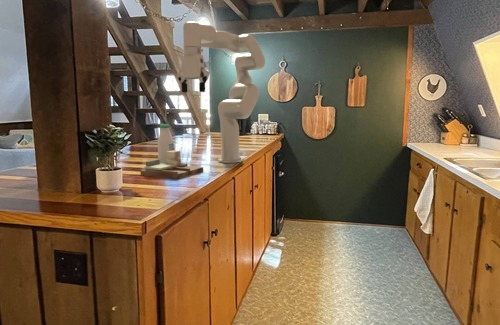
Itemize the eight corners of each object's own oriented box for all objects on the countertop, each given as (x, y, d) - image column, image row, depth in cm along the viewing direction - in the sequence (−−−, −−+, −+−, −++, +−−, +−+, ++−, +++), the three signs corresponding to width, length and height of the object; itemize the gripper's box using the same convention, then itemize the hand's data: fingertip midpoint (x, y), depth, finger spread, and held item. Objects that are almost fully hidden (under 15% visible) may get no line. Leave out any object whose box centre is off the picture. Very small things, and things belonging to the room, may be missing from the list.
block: (173, 165, 165) (172, 150, 164) (181, 166, 163) (180, 150, 162) (166, 167, 161) (165, 151, 160) (174, 167, 159) (173, 152, 158)
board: (169, 168, 170) (168, 161, 169) (203, 171, 160) (203, 165, 160) (140, 174, 154) (140, 168, 154) (176, 179, 145) (176, 172, 144)
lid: (159, 165, 160) (159, 158, 160) (174, 166, 156) (174, 160, 156) (144, 168, 153) (144, 161, 152) (160, 170, 148) (159, 163, 148)
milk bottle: (165, 166, 173) (163, 125, 170) (155, 165, 178) (153, 124, 174) (177, 164, 179) (175, 124, 176) (167, 163, 184) (165, 123, 180)
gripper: (213, 52, 156) (214, 92, 159) (182, 54, 164) (183, 92, 167) (203, 49, 150) (204, 91, 152) (171, 52, 158) (172, 92, 160)
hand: (193, 92), depth 159 cm, fingers open, 9 cm apart
